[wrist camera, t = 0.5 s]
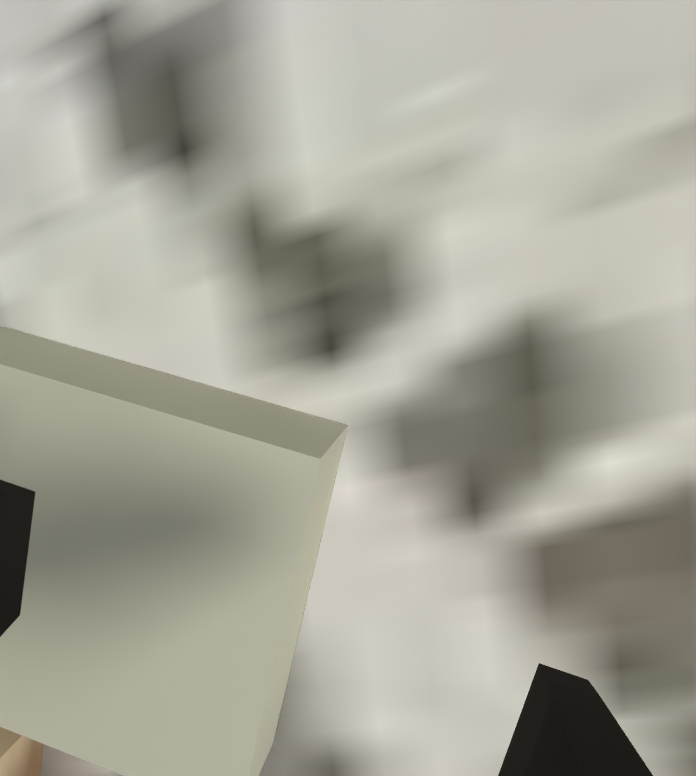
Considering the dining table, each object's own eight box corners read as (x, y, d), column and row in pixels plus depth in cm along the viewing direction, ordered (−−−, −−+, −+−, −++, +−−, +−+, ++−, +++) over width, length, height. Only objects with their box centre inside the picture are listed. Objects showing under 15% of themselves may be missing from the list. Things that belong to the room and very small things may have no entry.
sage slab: (272, 743, 21) (238, 820, 18) (-23, 633, 23) (-98, 688, 20) (348, 425, 18) (320, 458, 16) (4, 327, 20) (-77, 341, 17)
